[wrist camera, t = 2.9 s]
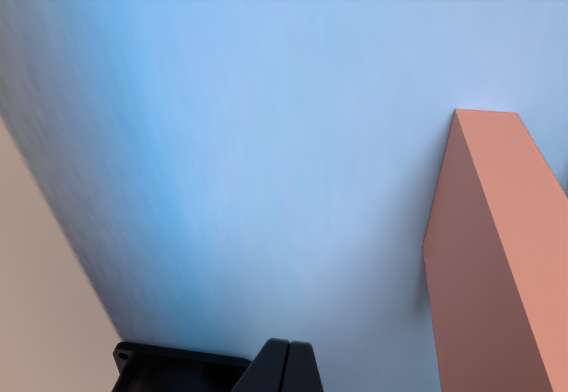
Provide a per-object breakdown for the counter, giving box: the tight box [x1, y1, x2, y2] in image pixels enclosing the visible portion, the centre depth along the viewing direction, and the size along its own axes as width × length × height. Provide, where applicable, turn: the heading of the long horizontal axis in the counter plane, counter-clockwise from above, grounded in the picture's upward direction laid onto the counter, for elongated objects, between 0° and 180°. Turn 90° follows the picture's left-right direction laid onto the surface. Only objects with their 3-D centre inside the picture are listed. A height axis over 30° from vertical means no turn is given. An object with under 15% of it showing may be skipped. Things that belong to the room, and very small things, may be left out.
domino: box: [422, 109, 568, 392], centre depth 10 cm, size 2×5×10 cm, turn 0°
